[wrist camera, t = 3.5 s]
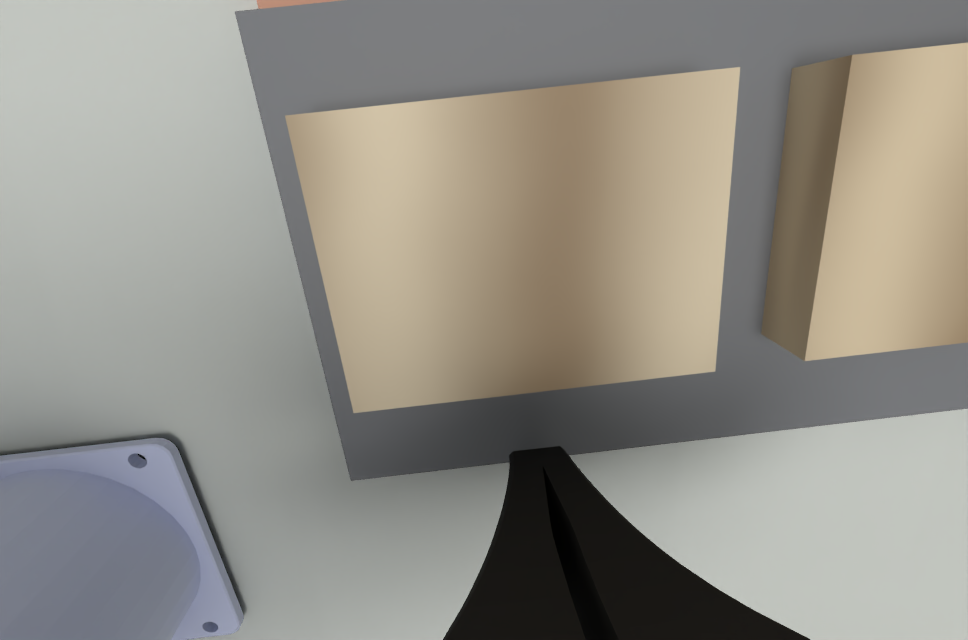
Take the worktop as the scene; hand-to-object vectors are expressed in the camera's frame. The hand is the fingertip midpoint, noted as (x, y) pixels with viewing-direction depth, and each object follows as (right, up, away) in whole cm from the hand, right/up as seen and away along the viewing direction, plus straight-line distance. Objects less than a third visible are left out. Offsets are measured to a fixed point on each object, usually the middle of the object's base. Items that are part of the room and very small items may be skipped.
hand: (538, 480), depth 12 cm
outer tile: (+9, +7, -1) cm, 12 cm away
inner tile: (-1, +6, -1) cm, 6 cm away
